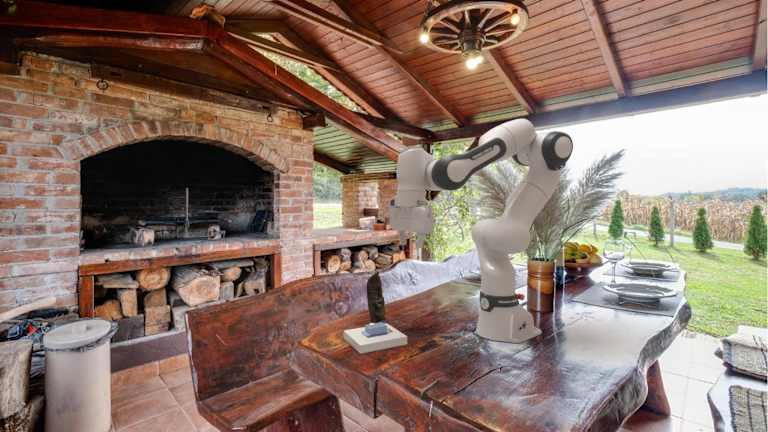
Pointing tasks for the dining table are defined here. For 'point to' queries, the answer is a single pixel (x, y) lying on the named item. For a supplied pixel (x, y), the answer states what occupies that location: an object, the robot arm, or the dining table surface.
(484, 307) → the robot arm
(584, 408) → the dining table surface
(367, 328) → the servo
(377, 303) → the statue
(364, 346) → the frame
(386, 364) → the dining table surface
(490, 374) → the dining table surface
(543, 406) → the dining table surface
